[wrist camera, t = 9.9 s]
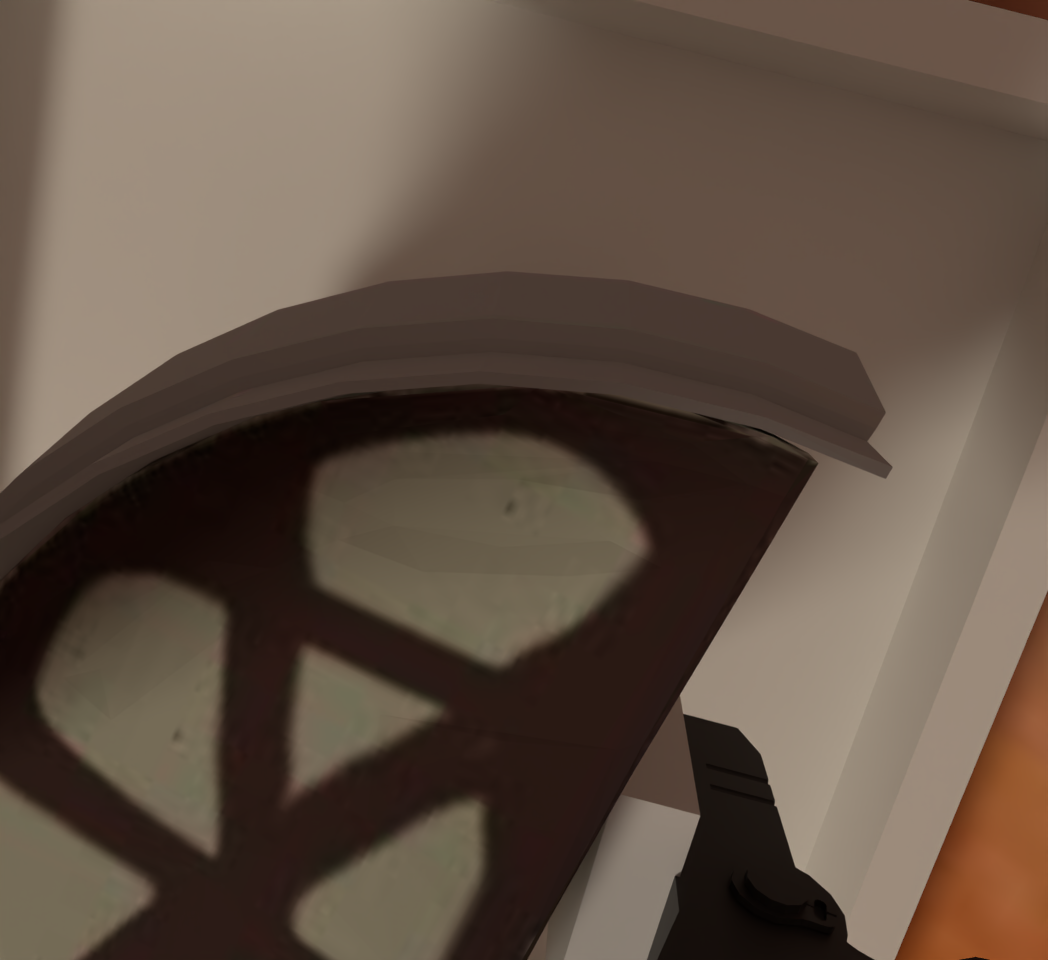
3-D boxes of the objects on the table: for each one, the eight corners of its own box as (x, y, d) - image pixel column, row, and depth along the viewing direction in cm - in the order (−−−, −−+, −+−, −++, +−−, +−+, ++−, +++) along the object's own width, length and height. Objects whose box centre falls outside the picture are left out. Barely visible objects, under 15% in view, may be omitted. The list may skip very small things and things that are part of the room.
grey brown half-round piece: (386, 120, 15) (-5, -103, 5) (732, 300, 15) (942, 390, 6) (119, 741, 18) (-437, 1302, 9) (410, 884, 18) (189, 1593, 9)
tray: (1141, 104, 16) (1261, 72, 13) (771, 1058, 21) (798, 1190, 18) (-26, -188, 16) (-163, -282, 13) (-112, 822, 21) (-224, 915, 18)
